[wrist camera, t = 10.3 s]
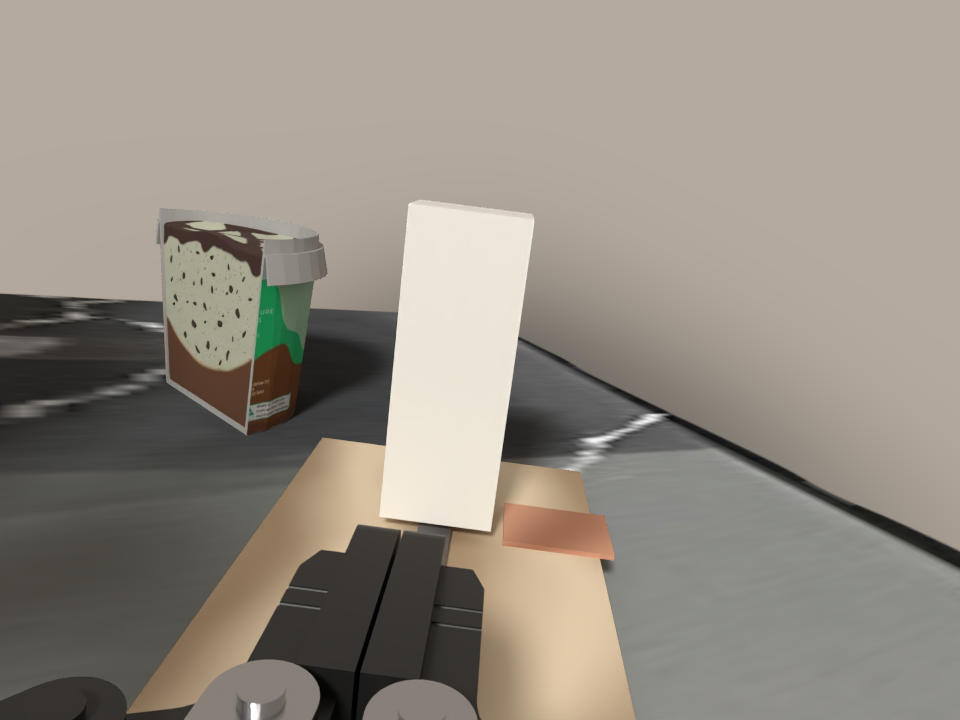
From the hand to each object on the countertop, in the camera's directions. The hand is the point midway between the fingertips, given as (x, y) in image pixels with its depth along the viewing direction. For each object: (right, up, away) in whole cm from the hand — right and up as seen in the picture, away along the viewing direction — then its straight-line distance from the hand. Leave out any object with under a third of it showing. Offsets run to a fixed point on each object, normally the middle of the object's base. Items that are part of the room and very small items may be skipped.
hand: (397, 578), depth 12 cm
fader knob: (0, -2, +15) cm, 15 cm away
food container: (-12, +1, +29) cm, 31 cm away
